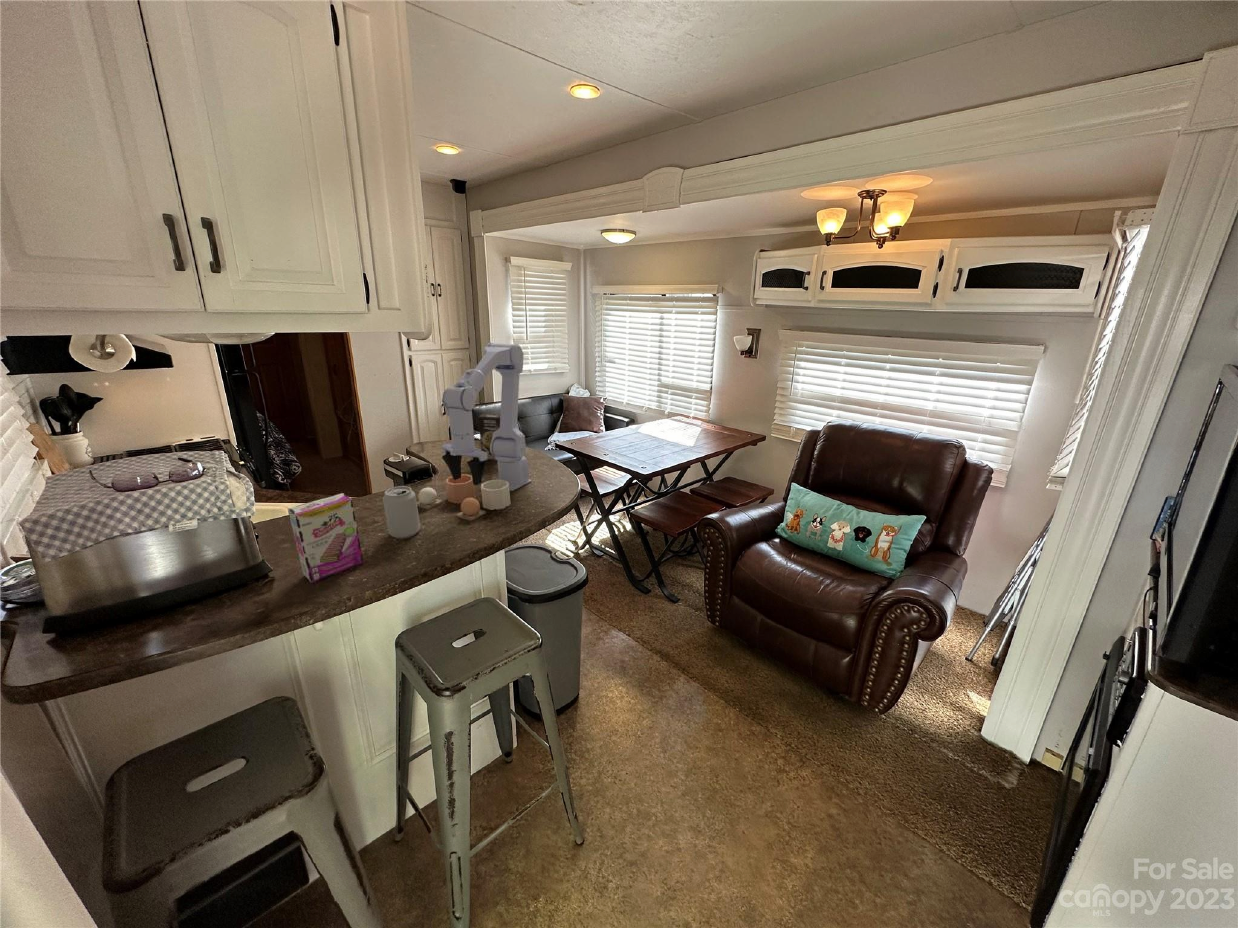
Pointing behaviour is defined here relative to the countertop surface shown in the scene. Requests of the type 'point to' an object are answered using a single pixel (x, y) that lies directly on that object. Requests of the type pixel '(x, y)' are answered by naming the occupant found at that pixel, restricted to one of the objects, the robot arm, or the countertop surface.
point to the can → (401, 512)
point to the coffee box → (488, 430)
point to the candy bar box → (326, 536)
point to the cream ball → (427, 496)
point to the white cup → (495, 494)
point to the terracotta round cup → (460, 488)
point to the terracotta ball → (470, 506)
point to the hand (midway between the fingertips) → (467, 481)
